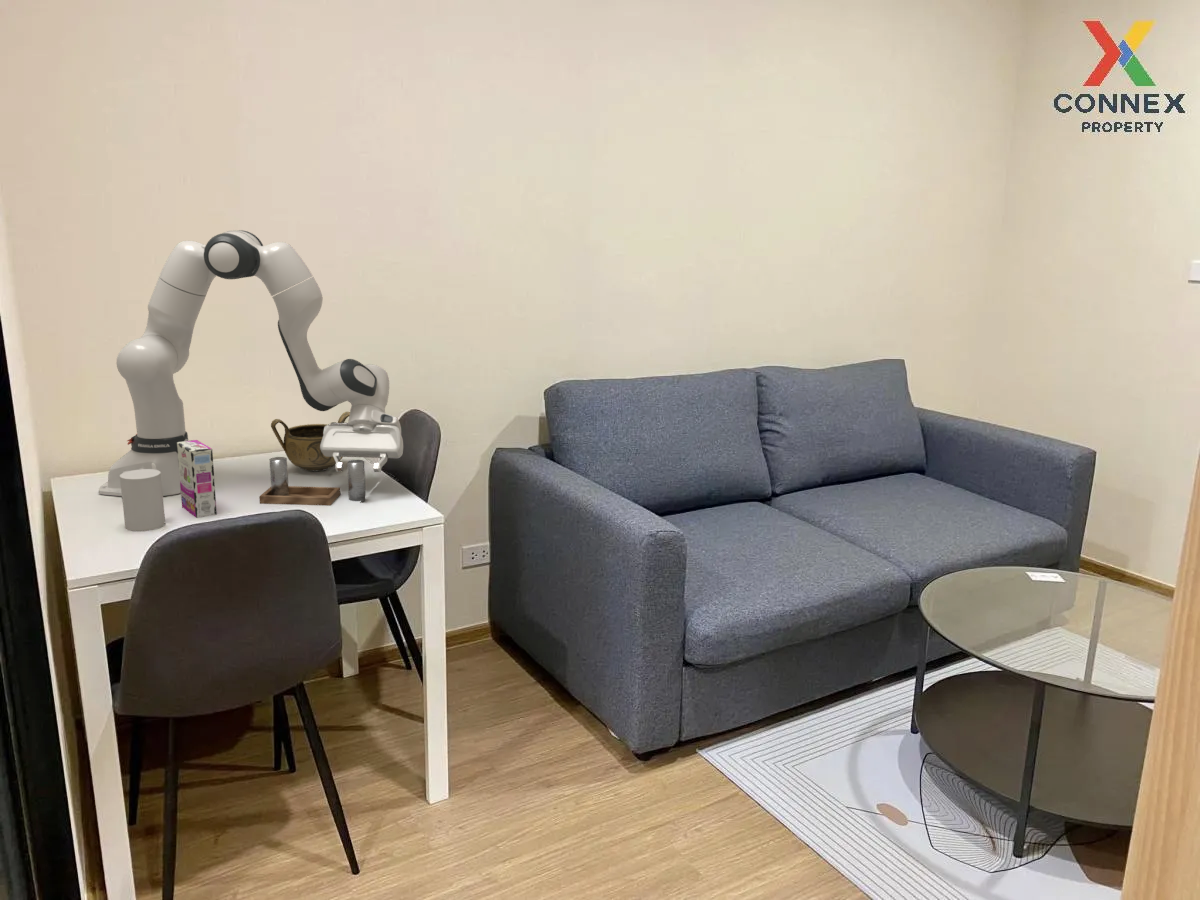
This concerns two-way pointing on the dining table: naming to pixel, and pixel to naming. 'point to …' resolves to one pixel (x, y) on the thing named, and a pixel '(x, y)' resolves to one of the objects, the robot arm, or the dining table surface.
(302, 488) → the tray
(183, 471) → the candy bar box
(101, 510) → the dining table surface
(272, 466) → the cylinder
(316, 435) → the ceramic bowl
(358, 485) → the cylinder
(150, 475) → the cup
